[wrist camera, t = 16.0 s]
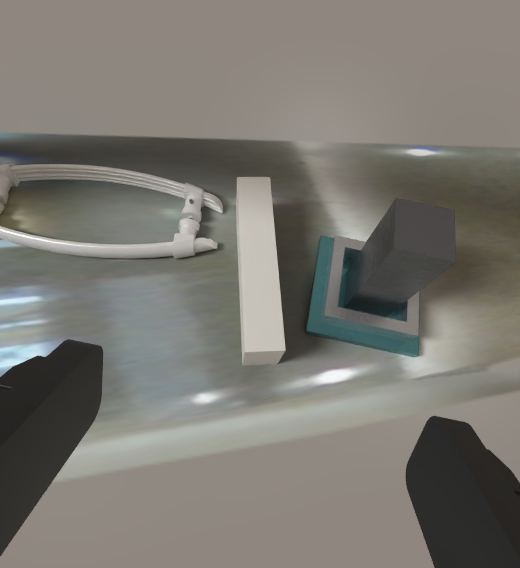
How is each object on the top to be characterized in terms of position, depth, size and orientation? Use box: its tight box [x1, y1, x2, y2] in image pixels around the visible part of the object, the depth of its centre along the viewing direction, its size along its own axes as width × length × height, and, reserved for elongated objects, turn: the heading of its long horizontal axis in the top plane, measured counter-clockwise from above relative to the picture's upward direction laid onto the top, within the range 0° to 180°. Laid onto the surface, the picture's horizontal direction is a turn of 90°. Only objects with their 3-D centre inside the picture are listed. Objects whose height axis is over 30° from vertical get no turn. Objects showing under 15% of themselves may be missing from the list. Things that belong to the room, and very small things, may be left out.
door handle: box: [0, 163, 223, 259], centre depth 35 cm, size 3×10×25 cm
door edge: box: [236, 177, 286, 366], centre depth 32 cm, size 16×3×5 cm, turn 3°
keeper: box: [305, 236, 420, 357], centre depth 33 cm, size 10×10×3 cm
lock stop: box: [344, 198, 456, 317], centre depth 29 cm, size 4×4×11 cm
